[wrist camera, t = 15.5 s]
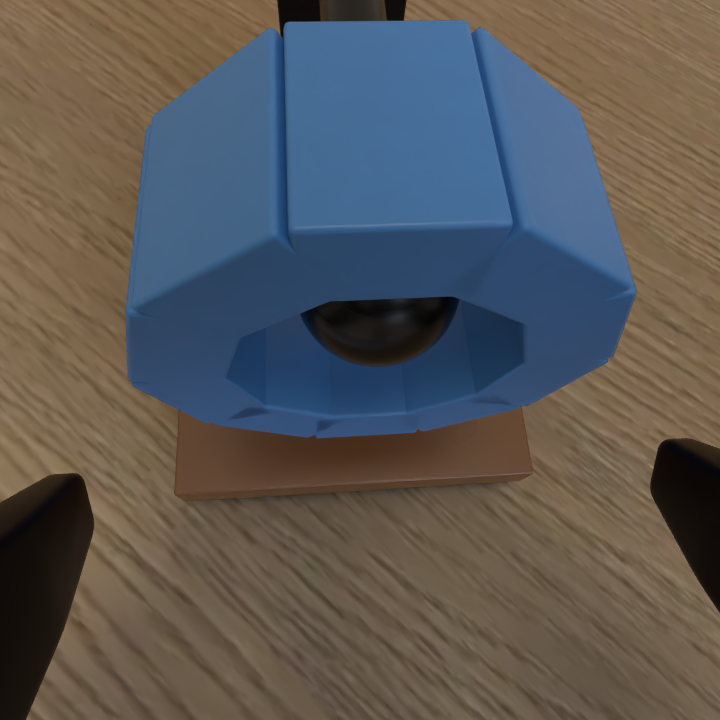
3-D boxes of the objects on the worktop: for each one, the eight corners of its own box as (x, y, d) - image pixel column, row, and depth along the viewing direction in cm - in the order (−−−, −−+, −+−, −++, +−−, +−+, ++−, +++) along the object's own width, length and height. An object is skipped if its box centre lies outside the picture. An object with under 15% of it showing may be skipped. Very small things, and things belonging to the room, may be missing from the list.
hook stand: (520, 481, 17) (831, 313, 6) (184, 501, 16) (-86, 352, 6) (455, 106, 22) (564, -310, 12) (203, 109, 22) (85, -330, 11)
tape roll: (536, 426, 12) (776, 215, 5) (188, 446, 12) (-6, 242, 5) (511, 306, 13) (683, 15, 7) (195, 320, 13) (46, 20, 6)
